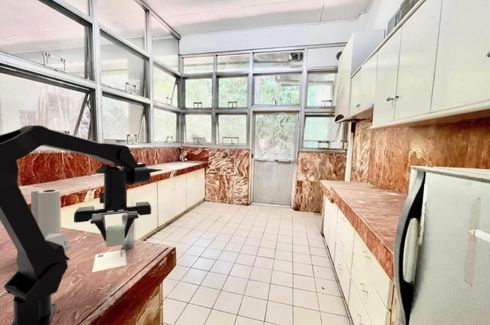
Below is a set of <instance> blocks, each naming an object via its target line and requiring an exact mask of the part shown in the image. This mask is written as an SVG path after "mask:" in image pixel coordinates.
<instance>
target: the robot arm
mask: <svg viewBox="0 0 490 325" xmlns="http://www.w3.org/2000/svg"><path fill="white" fill-rule="evenodd" d="M40 147H46V148H47V147H48V148H50V149H56V150H61V151H67V152H70V153H75V154H80V155H85V156H88V157H90V158H92V159H95V160H96V161H99V162H102V163H103V164H102V165H101V166H100V167H99V168H97V169H96V170H95V173H96V174H103V187H104V188H103V190H104V191H103V192H100V193H99V204H100V205H102V204H103V208H95V206H94V205H92V206H89V205H88V206H79V207H78V208H77V209H76V210H75V212H74V213H73V214H74V215H73V223H85V222H89V221H90V224H91V225H93V224H94V225H95V226H96V228H97V229H98V230H99V232H100V234H101V235H102V239H103V240H104V242H106V230H107V226H106V220H105V218H106V217H105V216H110V215H118V214H119V215H121V214H127V217H126V224H125V238H126V236H127V234H128V231H129V229H130V227H131V225H132V223H133V221H134V222H135V220H136V219H139V216H148V215H152V206H151V203H150V202H148V201H141V202H135V205H129V206H128V185H129V186H132V185H133V186H134V185H140V184H145V183H146V184H147V183H148V182H149V181H150V180H151V174H152V173H151V172H150V170H149V168H148V167H147V164H146V162H137V161H136V159H135V157H134V156H133V155H132V152H131V150H130V147H129V146H127V145H125V144H117V143H106V142H105V143H104V142H99V141H93V140H91V139H86V138H85V137H84V138H83V137H80V136H76V135H72V134H69V133H65V132H61V131H58V130H54V129H52V128H48V127H47V126H44V125H25V126H22V127H21V128H19V129H16V130H13V131H10V132H9V131H8V132H7V133H3V134H0V222H1V225H2V226H3V228H4V230H5V231H6V233H7V234H8V236H9V238H10V240H11V242H12V243H13V245H14V247H15V248H16V251H17V253H16V265H17V271H16V272H15V273H14V274H13V275H12V277H11V278H10V279H9V280H8V281H7V282H6V283H5V284H4V285H3V288H4V290H5V291H6V292H7V293H8V294H9V295H12V296H14V297H13V298H12V299H13V321H12V322H11V325H49V324H50V323H51V321H52V318H53V315H54V313H55V311H56V308H57V303H56V302H55V303H52V295H54V294H55V293H57V292H58V290H59V288H60V285H61V282H62V279H63V277H64V275H65V273H66V271H68V268H69V264H68V261H70V257H68V255H66V252H65V251H64V248H63V246H62V245H60V244H57V243H54V242H51V241H48V240H47V241H46V240H45V238H44V236H43V234H42V232H41V230H40V228H39V226H38V224H37V222H36V220H35V218H34V216H33V214H32V212H31V207H30V206H29V204H28V202H27V200H26V198H25V196H24V195H23V192H22V190H21V188H20V186H19V182H18V181H19V172H20V170H19V165H18V160H20V159H22V158H24V157H26V156H28V155H30V154H31V153H32V152H34V151H35V150H37V149H38V148H40ZM110 165H111V166H110Z"/></svg>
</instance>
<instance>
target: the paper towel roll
mask: <svg viewBox="0 0 490 325" xmlns="http://www.w3.org/2000/svg"><path fill="white" fill-rule="evenodd" d="M30 210H31V212H32V214H33V216H34V218H35V220H36V222H37V224H38V226H39V228H40V230H41V232H42V234H43V236H44V238H45V237H46V236H47V235H48V234H62V229H61V228H62V226H61V225H62V224H61V222H62V221H61V218H62V217H61V215H62V214H61V212H62V210H61V190H60V189H43V190H34V191H31V192H30Z"/></svg>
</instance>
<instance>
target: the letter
mask: <svg viewBox="0 0 490 325" xmlns="http://www.w3.org/2000/svg"><path fill="white" fill-rule="evenodd" d="M126 252H127V251H126V249H120V250H114V251H113V250H112V251H108V252H103V253H102V252H101V253H99V254H95V256H94V260H93V266H92V271H91V274H92V273H97V272H101V271H105V270H106V271H107V270H111V269H114V268H116V269H117V268H120V267H124V266H127V255H126Z"/></svg>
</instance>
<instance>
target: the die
mask: <svg viewBox="0 0 490 325" xmlns="http://www.w3.org/2000/svg"><path fill="white" fill-rule="evenodd" d="M67 238H68V237H67V236H66V234H64V233H61V234H48V235H47V236H46V237H45V240H46V241H47V240H48V241H51V242H54V243H57V244H60V245H62V246H63V248H64V251H65V253H67V251H69V250H70V248H72V245H71V244H70V241H69V240H68V239H67Z"/></svg>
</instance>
